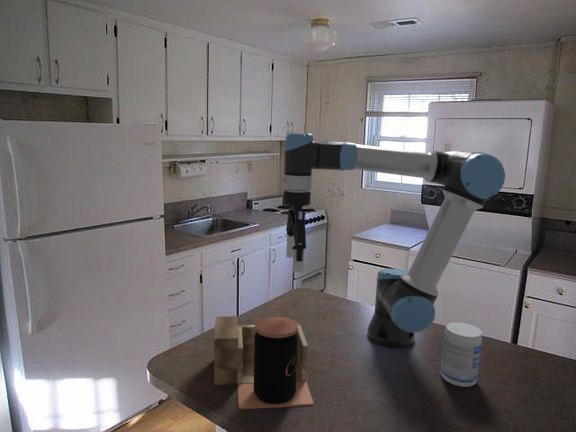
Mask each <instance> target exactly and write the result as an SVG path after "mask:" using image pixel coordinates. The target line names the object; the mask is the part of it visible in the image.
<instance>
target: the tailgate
mask: <svg viewBox="0 0 576 432" xmlns="http://www.w3.org/2000/svg"><path fill="white" fill-rule="evenodd" d="M237 397H238V399H237V401H238V410H249V409H267V408H269V409H270V408H287V407H304V406H306V407H307V406H314V400H313V397H312V394H311V391H310V389H309V385H308V383H307V380H306V381H296V392H295V394H294V396H293V397H292V398H291V399H290V400H289V401H287V402H285V403H281V404H269V403H265V402H263V401H261V400H260V399H259V398H258V397H257V396H256V394H255V392H254V383H247V384H237Z"/></svg>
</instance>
